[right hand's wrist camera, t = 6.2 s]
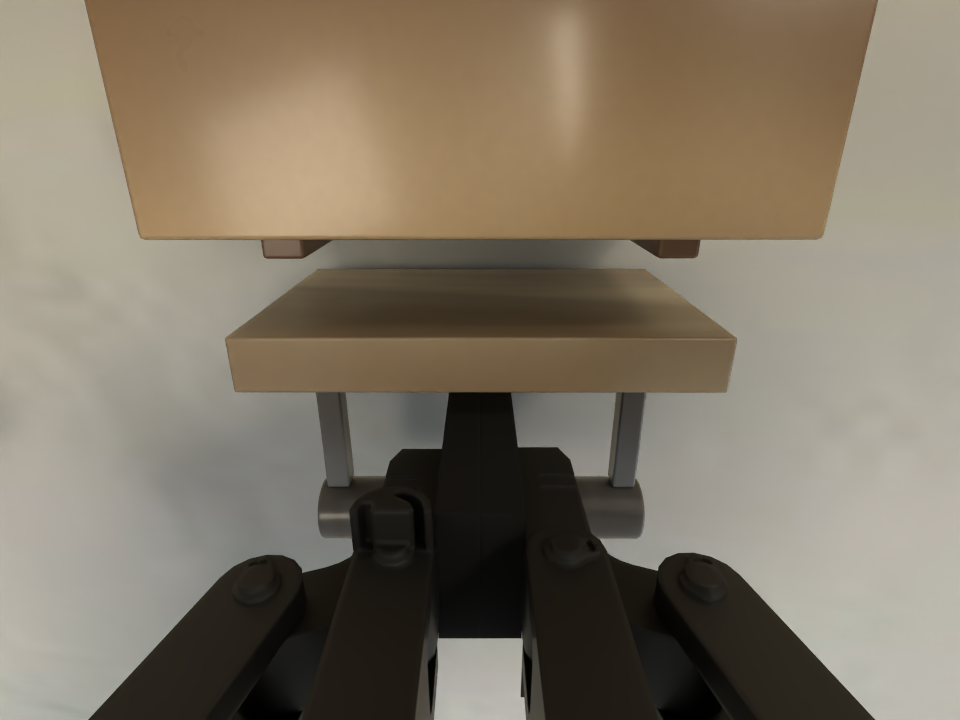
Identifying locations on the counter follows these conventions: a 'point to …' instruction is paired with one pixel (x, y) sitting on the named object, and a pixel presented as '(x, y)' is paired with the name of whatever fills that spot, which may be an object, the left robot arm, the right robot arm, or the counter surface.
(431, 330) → the drawer
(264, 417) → the counter surface
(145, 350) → the counter surface
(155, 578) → the counter surface
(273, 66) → the wooden drawer box
